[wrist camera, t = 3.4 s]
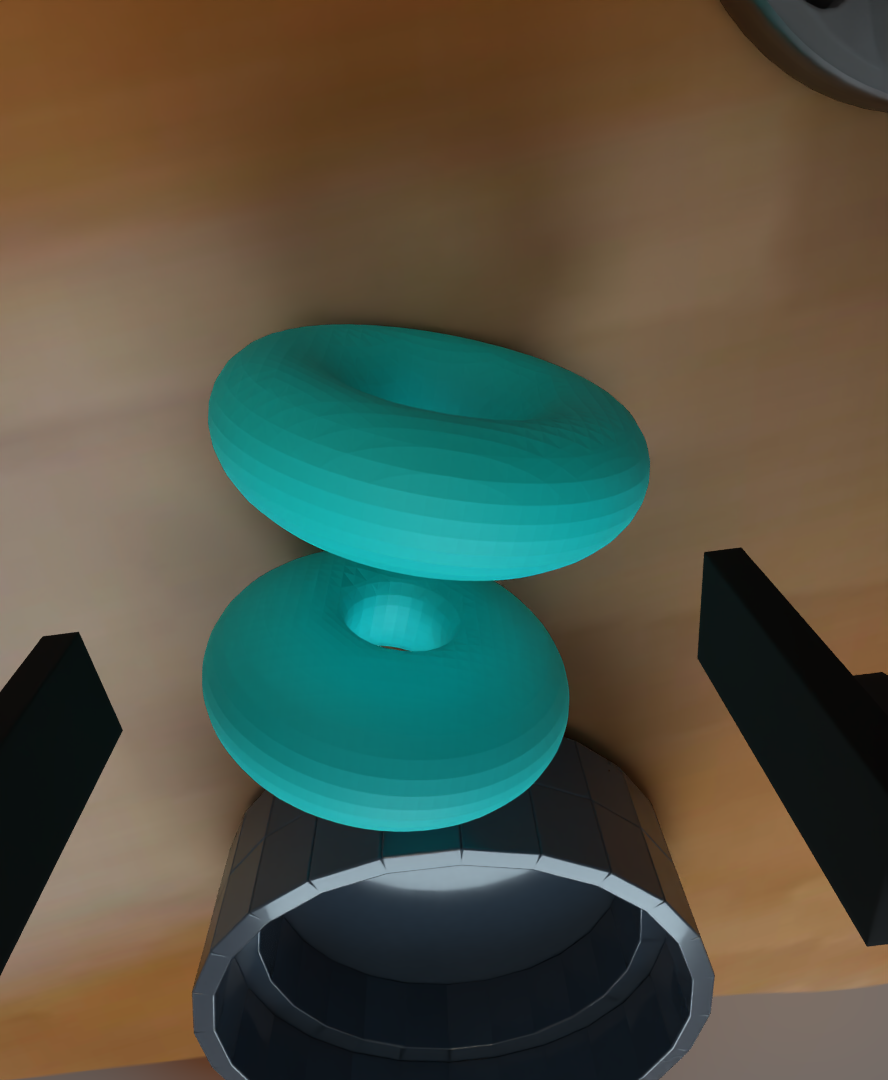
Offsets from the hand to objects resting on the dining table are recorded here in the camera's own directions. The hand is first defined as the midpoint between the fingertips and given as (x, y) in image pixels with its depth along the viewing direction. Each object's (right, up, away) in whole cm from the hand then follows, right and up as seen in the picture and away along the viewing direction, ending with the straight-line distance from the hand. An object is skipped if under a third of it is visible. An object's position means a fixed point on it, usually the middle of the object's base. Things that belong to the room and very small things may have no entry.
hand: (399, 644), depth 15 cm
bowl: (+1, -12, +16) cm, 20 cm away
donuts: (0, +4, +8) cm, 9 cm away
